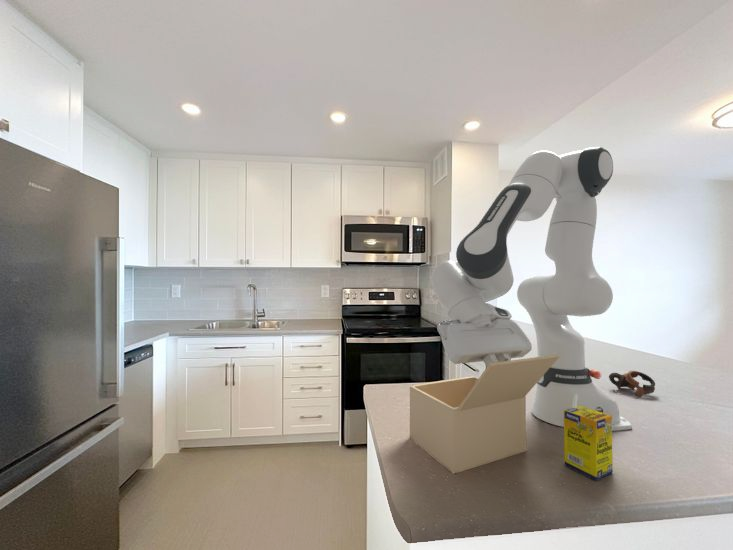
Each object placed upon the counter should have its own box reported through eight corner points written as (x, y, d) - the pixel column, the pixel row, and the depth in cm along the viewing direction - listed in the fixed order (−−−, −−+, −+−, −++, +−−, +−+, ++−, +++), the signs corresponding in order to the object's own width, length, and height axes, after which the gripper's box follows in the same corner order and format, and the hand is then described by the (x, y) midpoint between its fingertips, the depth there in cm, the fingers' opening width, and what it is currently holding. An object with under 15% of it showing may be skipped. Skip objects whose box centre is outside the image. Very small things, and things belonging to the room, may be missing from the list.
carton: (473, 422, 80) (473, 375, 81) (526, 451, 66) (525, 394, 67) (408, 437, 72) (408, 385, 72) (453, 474, 58) (453, 409, 58)
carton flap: (557, 354, 60) (559, 356, 59) (522, 395, 66) (524, 397, 66) (489, 363, 52) (491, 365, 52) (457, 408, 59) (459, 410, 58)
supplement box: (597, 482, 56) (596, 421, 56) (563, 465, 61) (562, 409, 62) (614, 473, 59) (612, 415, 59) (580, 457, 64) (579, 404, 64)
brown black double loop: (642, 390, 109) (654, 373, 105) (650, 410, 101) (662, 393, 97) (602, 377, 113) (612, 361, 109) (606, 396, 106) (617, 379, 102)
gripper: (440, 311, 62) (475, 374, 52) (513, 310, 70) (554, 364, 61) (427, 330, 66) (457, 392, 56) (497, 327, 74) (534, 380, 65)
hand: (508, 377), depth 59 cm, fingers closed, pressing on carton flap
